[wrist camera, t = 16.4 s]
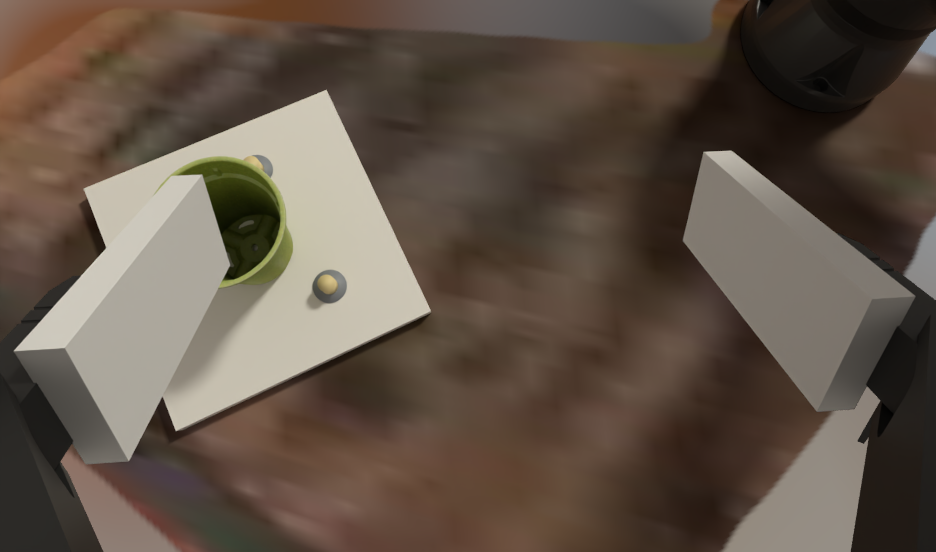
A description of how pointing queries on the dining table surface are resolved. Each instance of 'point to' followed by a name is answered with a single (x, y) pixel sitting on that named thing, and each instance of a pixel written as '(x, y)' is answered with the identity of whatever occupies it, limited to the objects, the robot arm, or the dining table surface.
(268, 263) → the plant pot
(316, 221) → the pin board
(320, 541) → the dining table surface
